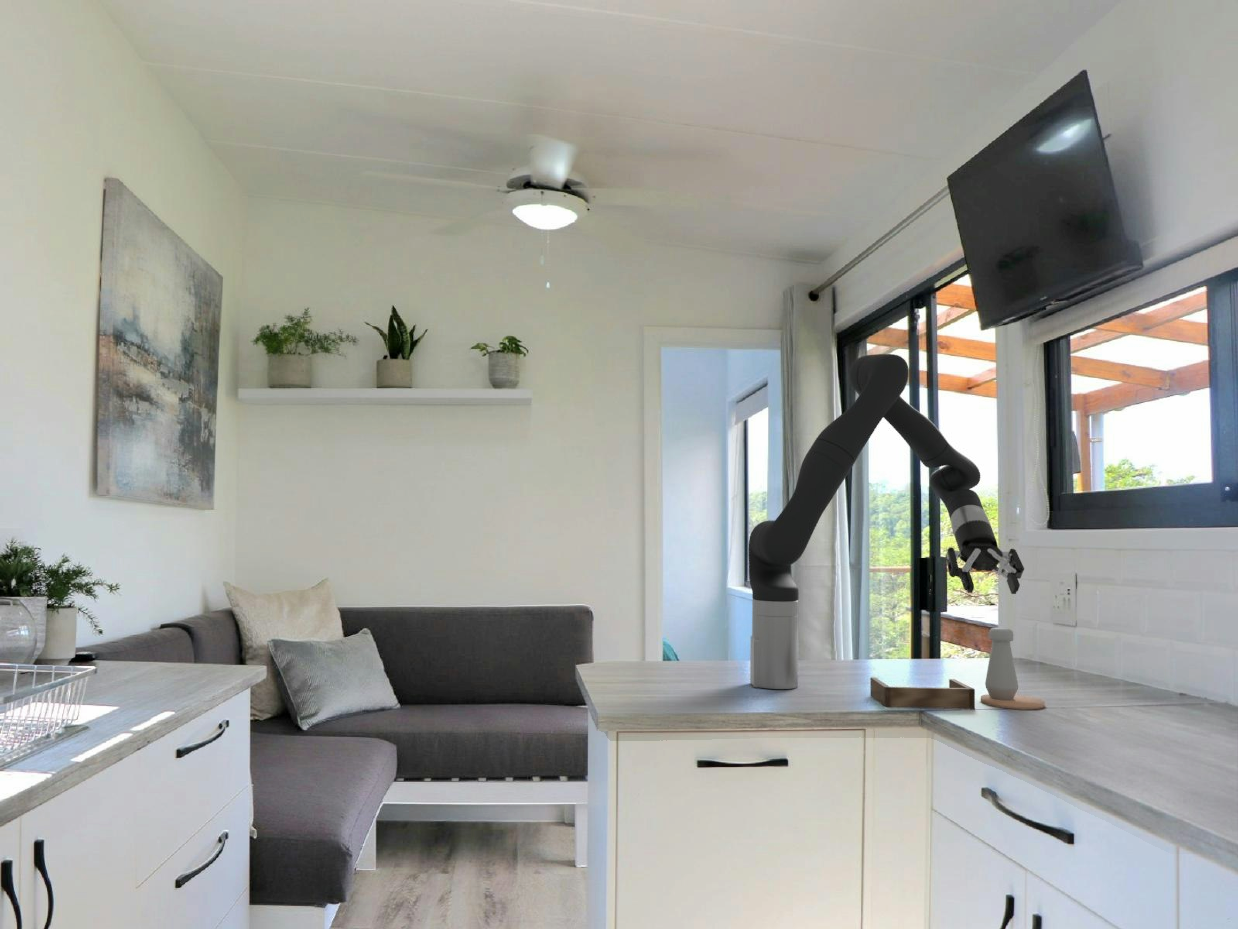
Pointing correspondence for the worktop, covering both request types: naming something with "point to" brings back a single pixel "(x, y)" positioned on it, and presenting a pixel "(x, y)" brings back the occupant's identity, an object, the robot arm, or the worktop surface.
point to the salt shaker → (1001, 666)
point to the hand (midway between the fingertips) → (993, 590)
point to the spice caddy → (924, 695)
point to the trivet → (1014, 702)
